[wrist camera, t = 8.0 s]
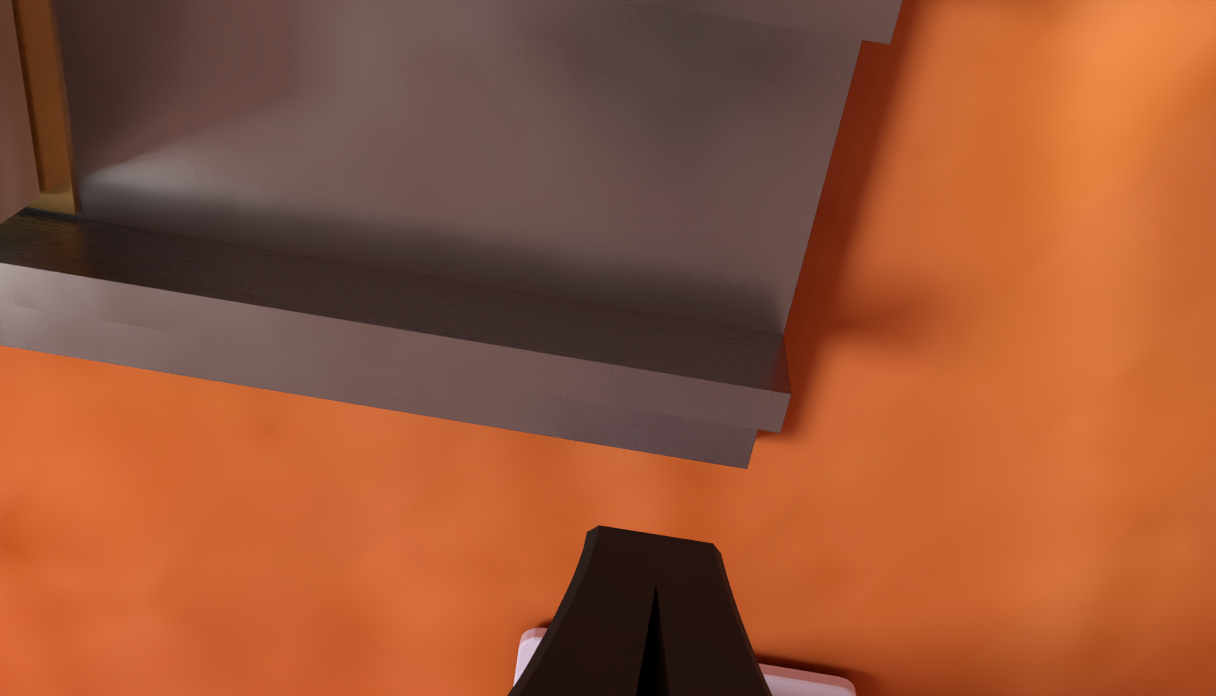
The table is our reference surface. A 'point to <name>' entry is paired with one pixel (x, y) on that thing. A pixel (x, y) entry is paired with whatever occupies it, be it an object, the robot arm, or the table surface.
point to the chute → (438, 202)
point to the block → (14, 125)
